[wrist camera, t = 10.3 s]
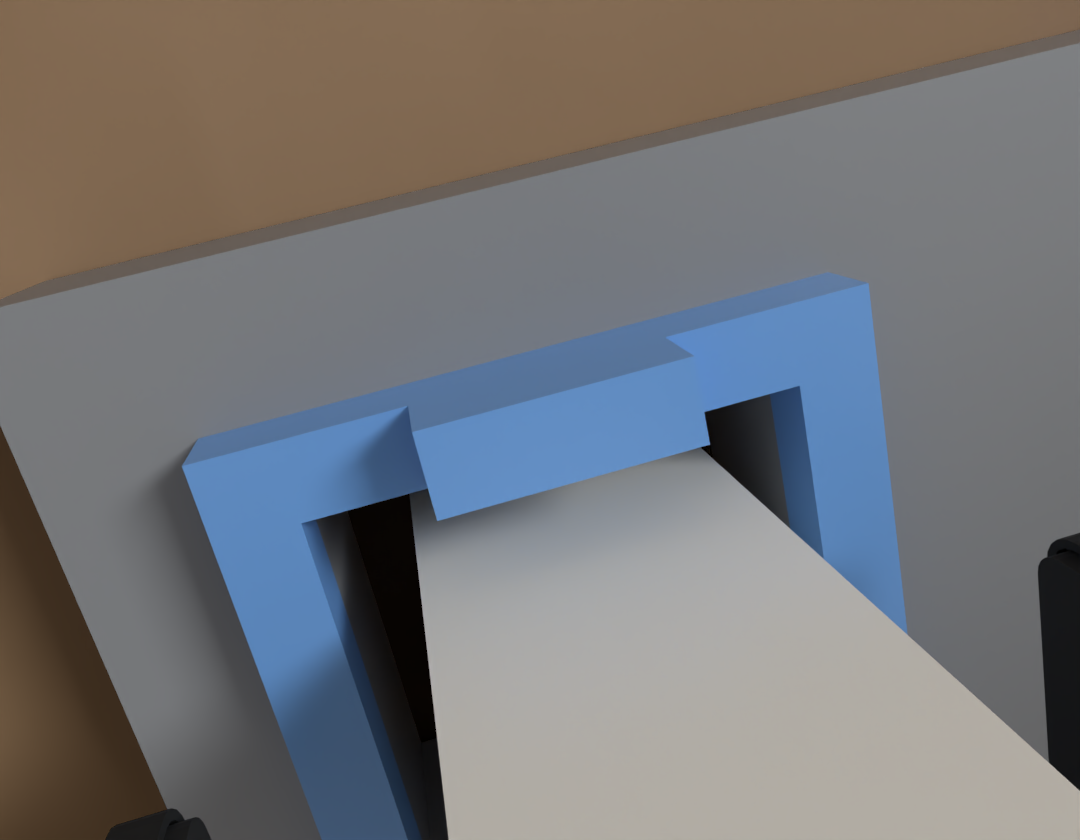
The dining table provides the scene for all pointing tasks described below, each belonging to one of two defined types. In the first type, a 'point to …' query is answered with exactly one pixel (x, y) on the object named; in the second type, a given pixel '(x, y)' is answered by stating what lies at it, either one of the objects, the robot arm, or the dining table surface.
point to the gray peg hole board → (565, 408)
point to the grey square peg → (695, 680)
